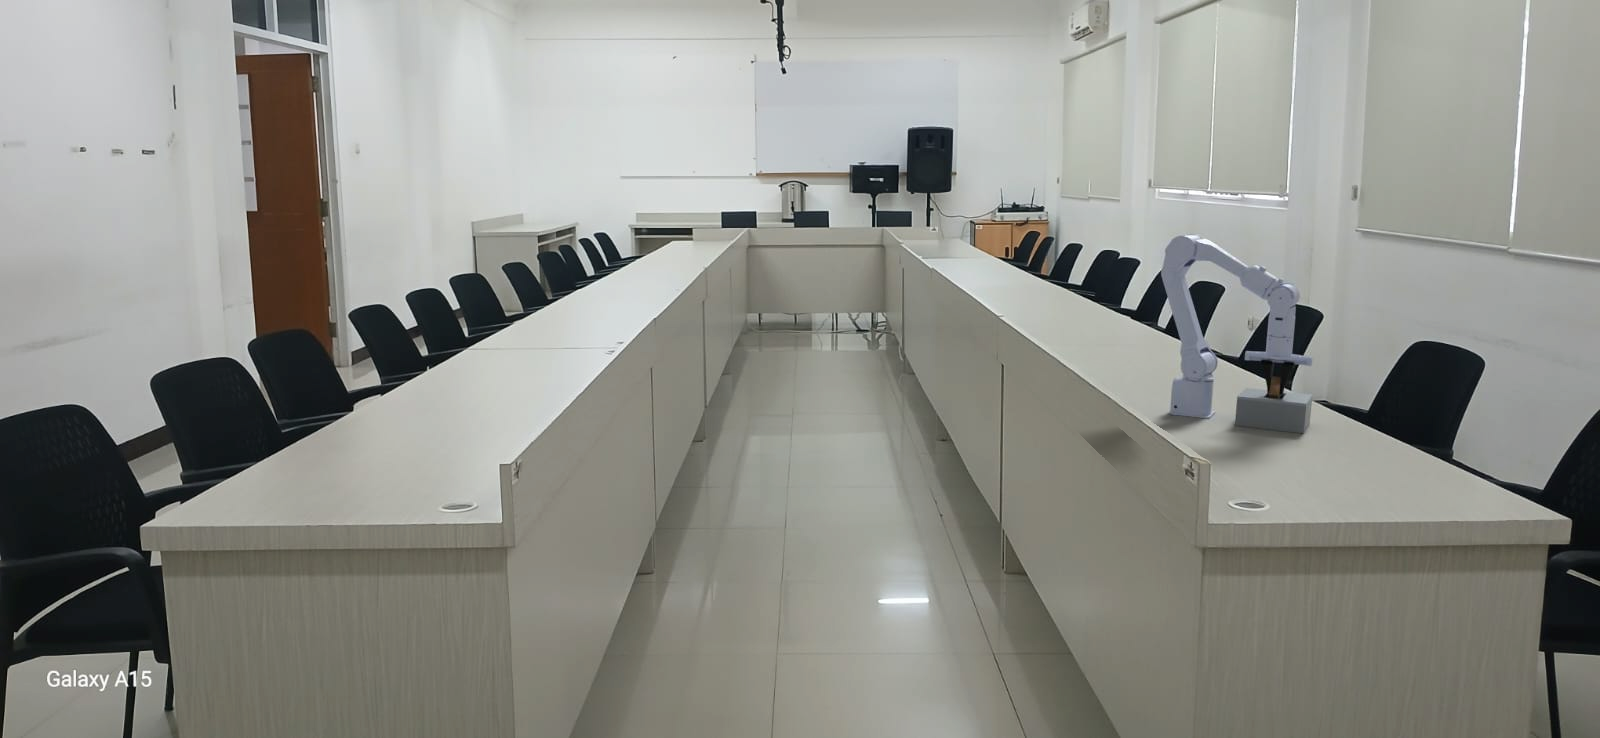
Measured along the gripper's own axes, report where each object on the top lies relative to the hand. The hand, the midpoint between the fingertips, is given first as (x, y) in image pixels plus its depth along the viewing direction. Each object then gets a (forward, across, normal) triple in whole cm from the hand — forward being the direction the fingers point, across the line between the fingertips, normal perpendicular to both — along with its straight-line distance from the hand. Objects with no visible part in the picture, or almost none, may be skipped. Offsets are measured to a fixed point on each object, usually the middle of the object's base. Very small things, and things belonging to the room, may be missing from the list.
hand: (1275, 392), depth 273 cm
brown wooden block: (+1, 0, -2) cm, 2 cm away
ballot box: (+8, 0, 0) cm, 8 cm away
